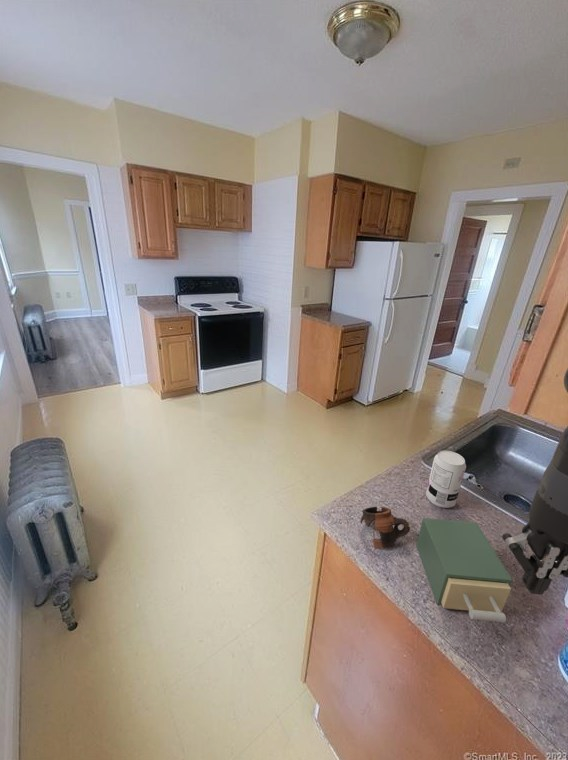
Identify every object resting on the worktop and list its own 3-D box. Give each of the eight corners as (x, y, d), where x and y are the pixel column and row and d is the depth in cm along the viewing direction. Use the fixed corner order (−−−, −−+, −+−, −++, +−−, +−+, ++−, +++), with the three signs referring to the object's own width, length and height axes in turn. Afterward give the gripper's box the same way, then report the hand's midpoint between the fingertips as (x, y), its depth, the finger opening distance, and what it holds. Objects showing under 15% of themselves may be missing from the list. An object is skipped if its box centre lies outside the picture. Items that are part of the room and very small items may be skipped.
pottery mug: (362, 550, 80) (357, 515, 81) (364, 536, 89) (360, 505, 90) (413, 550, 76) (408, 514, 77) (410, 536, 85) (405, 504, 86)
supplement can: (422, 488, 100) (431, 448, 95) (450, 491, 99) (461, 450, 94) (429, 507, 93) (440, 464, 87) (459, 511, 92) (472, 468, 86)
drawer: (514, 638, 61) (525, 613, 58) (452, 632, 61) (460, 607, 59) (470, 555, 77) (478, 532, 75) (422, 551, 78) (427, 528, 75)
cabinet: (499, 610, 66) (512, 580, 63) (437, 604, 67) (446, 574, 64) (467, 550, 80) (476, 522, 76) (416, 545, 81) (422, 518, 77)
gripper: (539, 516, 40) (500, 609, 46) (654, 525, 39) (598, 619, 45) (505, 477, 46) (476, 562, 53) (602, 484, 46) (560, 570, 52)
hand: (532, 588), depth 49 cm, fingers closed
